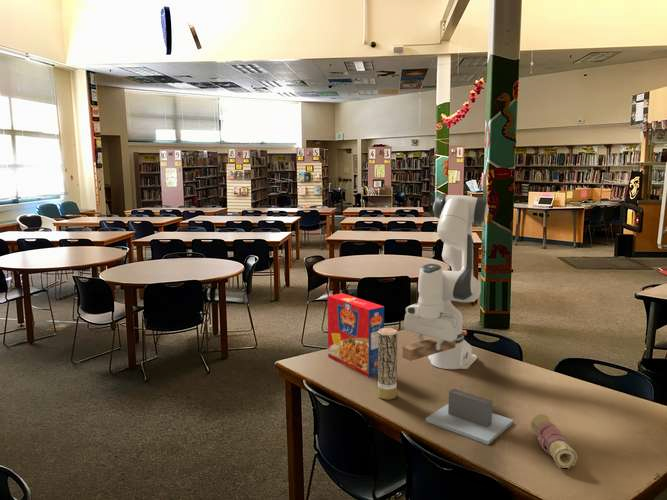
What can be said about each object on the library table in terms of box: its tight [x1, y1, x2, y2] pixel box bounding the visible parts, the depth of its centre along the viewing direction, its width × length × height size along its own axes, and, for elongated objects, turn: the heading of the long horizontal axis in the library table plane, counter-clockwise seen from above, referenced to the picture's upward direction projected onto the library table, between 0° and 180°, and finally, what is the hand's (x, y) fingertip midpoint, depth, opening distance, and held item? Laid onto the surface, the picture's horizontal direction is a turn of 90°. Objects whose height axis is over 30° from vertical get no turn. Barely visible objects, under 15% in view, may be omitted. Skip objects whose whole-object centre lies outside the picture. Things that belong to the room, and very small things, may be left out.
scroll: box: [530, 413, 578, 469], centre depth 153 cm, size 8×8×20 cm
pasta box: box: [327, 292, 385, 378], centre depth 220 cm, size 28×8×28 cm, turn 36°
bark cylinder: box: [377, 327, 398, 401], centre depth 189 cm, size 7×7×25 cm
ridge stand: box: [425, 388, 514, 446], centre depth 171 cm, size 22×18×9 cm
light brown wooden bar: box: [402, 337, 456, 362], centre depth 187 cm, size 22×4×4 cm, turn 124°
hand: (429, 347), depth 187 cm, fingers closed on light brown wooden bar, 5 cm apart
